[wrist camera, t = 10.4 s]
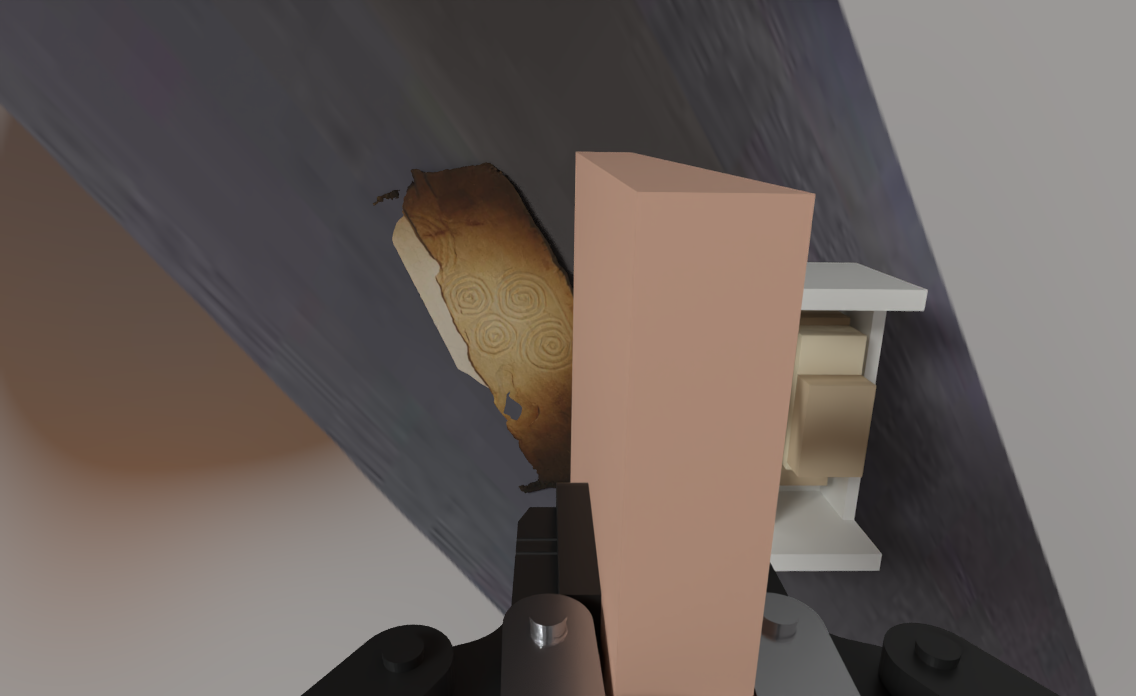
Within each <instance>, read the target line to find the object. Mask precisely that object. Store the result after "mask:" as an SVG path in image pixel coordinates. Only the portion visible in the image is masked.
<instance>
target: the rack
mask: <svg viewBox="0 0 1136 696" xmlns="http://www.w3.org/2000/svg"><path fill="white" fill-rule="evenodd" d="M927 291H928V290H927V289H924V288H921V287H919V286H916V285H913V284H911V283H908V282H905V281H903V280H900V279H898V278H895V277H892V276H890V275H887V274H884V273H882V272H879V271H876V270H874V269H871V268H868V267H866V266H863V265H861V264H858V263H825V262H807V266H806V274H805V282H804V290H803V298H802V306H801V310H837V311H839V312H841V313H843V314H844V315H846V316H848V317H850V325H849V326H851V327H853V328H855V329H856V330H858V331H860V332H861V333H863V334H865V335H866V336H867V340H866V347H865V353H864V360H863V367H862V374H861V375H862V376H864V377H865V378H866V379H868V380H869V381H871V382H872V383H873V384H875V383H876V376H877V370H878V364H879V357H880V351H881V345H882V338H883V332H884V325H885V319H886V313H887V311H924V309H925V303H926V297H927ZM860 479H861V477H828V481H827V486H779V492H778V501H777V509H776V517H775V525H774V533H773V541H772V549H771V557H770V563H771V565H772V566H773V568H774V570H775V571H879V569H880V563H881V557H882V553H881V552H880V551H879V550H878V549H877V547H876V546H875V545H874V544H873V542H872V541H871V540H870V539H869V538H868V536H867V535H866V534H865V533H864V531H863V530H862V529H861V528H860V527H859V525H858V524H857V523H856V522H855V520H854V517H855V511H856V504H857V498H858V492H859V485H860Z"/></svg>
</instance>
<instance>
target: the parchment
mask: <svg viewBox="0 0 1136 696" xmlns="http://www.w3.org/2000/svg"><path fill="white" fill-rule="evenodd" d="M411 172H412V176H413V178H414V182H413V181H412V183H411V185H410V186H408V187H407V188H408V189H407V191H406V192H407V194H406V196H405V197H404V203H403V211H402V212H403V214H404V216H403V217H402V218H401V219H400V220H399V221H398V222H397V224H396V226H395V230H394V233H393V238H392V240H393V244H394V246H395V247H396V249H397V251H398V253H399V255H400V257H401V259H402V261H403V263H404V265H405V267H406V269H407V271H408V272H409V274H410V277H411V278H412V281H413V282H414V284H415V286H416V288H417V290H418V292H419V293H420V296H421V298H422V300H423V301H424V304H425V305H426V307H427V309H428V311H429V313H430V315H431V317H432V318H433V321H434V323H435V325H436V326H437V328H438V330H439V332H440V334H441V337H442V338H443V340H444V342H445V344H446V346H447V348H448V350H449V352H450V354H451V355H452V358H453V360H454V362H455V364H456V366H457V368H458V369H459V370H461V371H463V372H465V373H467V374H469V375H471V376H472V377H473V378H474V379H476V380H477V381H478V382H479V383H481V384H483V385H485V386H486V387H488V388H489V389H490V391H491V393H492V394H493V395H494V400H495V401H494V403H495V405H496V407H497V408H498V409H499V411H500V412H501V413H502V414H503V416H504V417H505V418H506V419H507V420H508V421H507V422H506V424H507V428H508V430H509V431H510V432H511V434H512V435H513V437H514V438H515V439H517V440H519V448H520V449H521V451H522V452H523V454H524V456H525V457H526V459H527V460H528V462H529V463H530V464H531V465H532V466H533V469H536V470H537V474H538V475H539V476H538V478H539V479H538V481H536V482H532V483H530V484H529V485H528V486H527V485H526V486H524V485H521V486H519V488H520V489H521V491H524V492H525V493H527V492H532V491H534V490H535V491H537V490H540V489H545V488H547V487H553V488H556V483H570V482H571V421H572V361H573V300H574V291H573V288H572V286H571V284H570V281H569V278H568V274H567V272H566V271H565V270H564V269H563V268H562V267H561V266H560V265H559V264H558V261H557V259H556V256H555V255H554V253H553V251H552V249H551V248H550V245H549V243H548V242H547V240H546V239H545V237H544V235H543V234H542V233H541V231H540V230H539V228H538V227H537V226H536V225H535V223H534V221H533V219H532V217H531V216H530V213H529V212H528V211H527V209H526V208H525V205H524V204H523V202H522V199H521V198H520V196H519V194H518V193H517V191H516V190H515V188H514V186H513V185H512V184H511V183H510V181H509V180H508V179H507V178H506V177H505V176H503V174H502V172H501V171H500V172H498V169H497V168H495V167H494V166H493V165H492V164H491V163H483V164H481V165H476V166H473V165H472V166H465V167H461V168H456V169H451V170H448V169H446V170H443V171H439V172H433V173H432V172H427V173H426V172H424V173H423V172H421V171H420V170H418V169H413V170H411ZM398 191H399V190H394V191H392V192H390V193H387V194H384V195H383V196H378V197H377V202H375V203H373V205H374V206H375V205H376V204H377V203H378V202H383V198H386V199H389V198H391V199H392V200H393V198H394V197H397V198H399V197H398V196H399V193H398ZM509 391H510V395H509V397H511V398H512V399H513V400H514V401H516V402H517V403H519V404H520V405H521V406H522V414H521V416H520V417H519V419H518V420H513V419H511V418H510V416H508V415H506V414H504V413H503V412H504V408H505V403H506V397H507V396H506V394H507V393H508V392H509Z"/></svg>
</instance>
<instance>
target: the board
mask: <svg viewBox="0 0 1136 696" xmlns="http://www.w3.org/2000/svg"><path fill="white" fill-rule="evenodd" d="M814 201H815V194H813V193H809V192H804V191H800V190H795V189H791V188H787V187H782V186H778V185H773V184H769V183H764V182H760V181H755V180H751V179H747V178H742V177H738V176H733V175H729V174H724V173H720V172H716V171H711V170H707V169H702V168H698V167H693V166H689V165H684V164H680V163H676V162H671V161H667V160H662V159H658V158H653V157H649V156H645V155H640V154H636V153H630V152H576V179H575V240H574V300H573V361H572V421H571V482H570V483H588V484H589V492H590V501H591V509H592V518H593V526H594V535H595V543H596V552H597V560H598V569H599V577H600V586H601V594H602V595H601V626H600V657H599V660H600V666H601V672H602V679H603V685H604V691H605V696H753V695H754V687H755V679H756V671H757V662H758V654H759V646H760V638H761V630H762V622H763V614H764V606H765V598H766V590H767V582H768V573H769V565H770V557H771V549H772V541H773V533H774V525H775V517H776V509H777V501H778V492H779V484H780V476H781V468H782V460H783V452H784V444H785V436H786V428H787V420H788V412H789V403H790V395H791V387H792V379H793V371H794V363H795V355H796V347H797V339H798V331H799V322H800V314H801V306H802V298H803V290H804V282H805V274H806V266H807V258H808V250H809V242H810V233H811V225H812V217H813V209H814Z"/></svg>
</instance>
